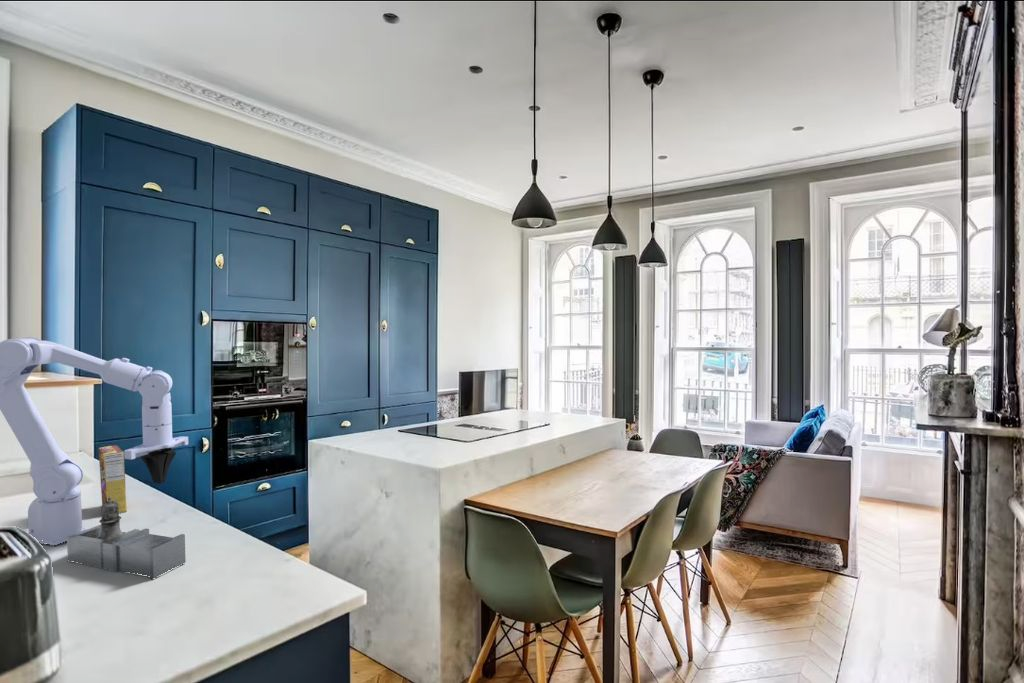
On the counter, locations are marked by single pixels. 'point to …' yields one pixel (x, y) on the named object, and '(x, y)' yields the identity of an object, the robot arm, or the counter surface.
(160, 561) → the grey divided tray
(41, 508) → the robot arm
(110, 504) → the grey tapered rounded piece
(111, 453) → the candy box
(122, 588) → the counter surface
